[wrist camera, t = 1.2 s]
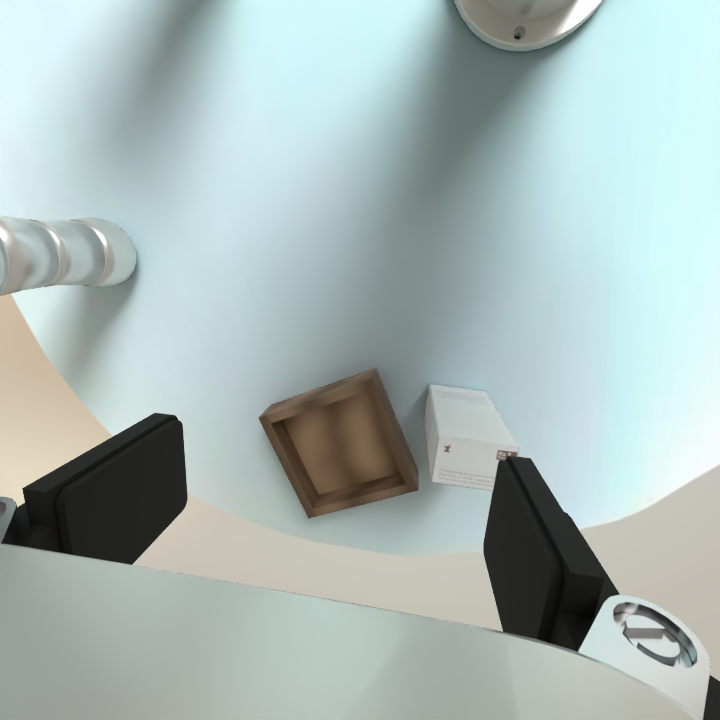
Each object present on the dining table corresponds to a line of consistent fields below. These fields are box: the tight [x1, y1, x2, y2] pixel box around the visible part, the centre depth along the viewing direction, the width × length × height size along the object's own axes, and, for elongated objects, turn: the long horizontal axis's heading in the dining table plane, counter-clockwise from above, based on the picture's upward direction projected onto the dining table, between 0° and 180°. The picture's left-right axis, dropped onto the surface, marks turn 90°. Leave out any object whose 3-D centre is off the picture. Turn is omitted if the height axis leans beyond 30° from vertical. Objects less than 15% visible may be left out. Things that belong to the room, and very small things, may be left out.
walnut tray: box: [259, 368, 418, 518], centre depth 40 cm, size 13×13×4 cm
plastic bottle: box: [0, 215, 137, 296], centre depth 30 cm, size 6×7×20 cm
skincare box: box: [424, 384, 519, 491], centre depth 33 cm, size 6×4×12 cm
